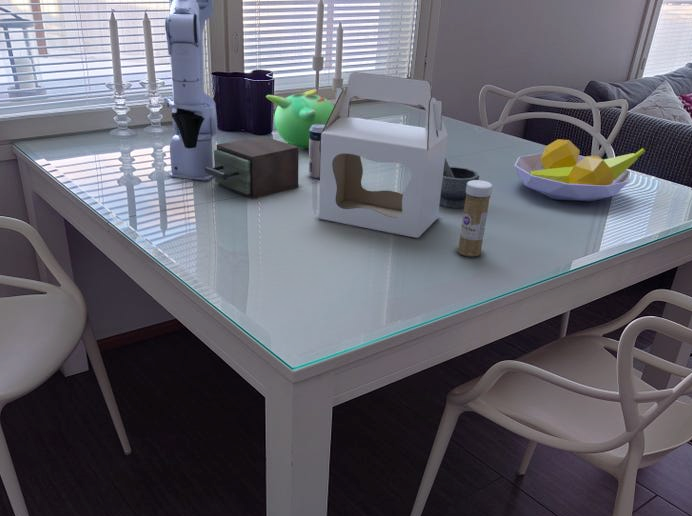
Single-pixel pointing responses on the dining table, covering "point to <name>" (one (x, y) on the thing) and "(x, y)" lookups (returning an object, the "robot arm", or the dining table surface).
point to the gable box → (382, 158)
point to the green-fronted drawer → (231, 171)
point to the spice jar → (315, 149)
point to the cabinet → (267, 163)
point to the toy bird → (300, 115)
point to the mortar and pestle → (455, 185)
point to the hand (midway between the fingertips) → (190, 147)
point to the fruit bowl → (574, 172)
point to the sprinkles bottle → (474, 217)
